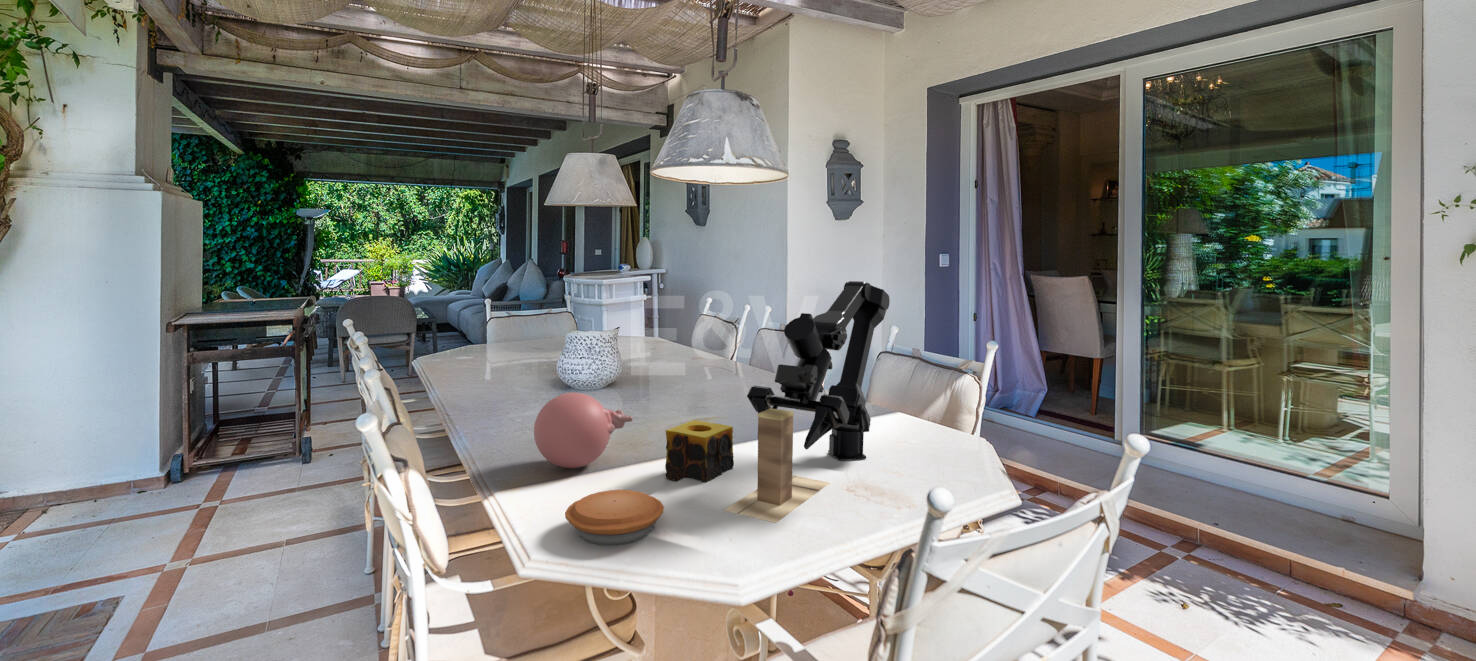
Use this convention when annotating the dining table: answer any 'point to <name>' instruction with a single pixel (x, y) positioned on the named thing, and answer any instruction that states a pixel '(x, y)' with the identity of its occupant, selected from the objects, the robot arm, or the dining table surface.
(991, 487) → the dining table surface
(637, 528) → the pie
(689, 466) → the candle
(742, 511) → the board
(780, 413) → the tall wooden pillar
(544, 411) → the balloon
